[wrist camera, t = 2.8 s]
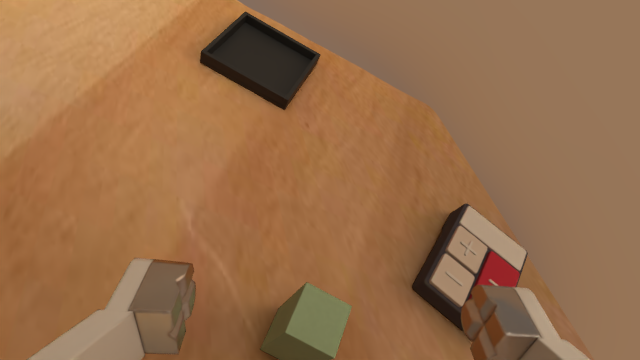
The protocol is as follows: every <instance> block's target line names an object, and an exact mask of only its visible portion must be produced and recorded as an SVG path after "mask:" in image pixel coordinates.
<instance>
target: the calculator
mask: <svg viewBox="0 0 640 360" xmlns="http://www.w3.org/2000/svg"><path fill="white" fill-rule="evenodd" d="M526 257H527V251H526V250H525V249H524V248H522V247H521V246H520V245H519V244H517V243H516V242H515V241H514V240H512V239H511V238H510V237H509V236H507V235H506V234H505V233H504V232H502V231H501V230H500V229H499V228H497V227H496V226H495V225H494V224H492V223H491V222H490V221H489V220H487V219H486V218H485V217H484V216H482V215H481V214H480V213H479V212H477V211H476V210H475V209H474V208H472V207H471V206H470V205H468V204H464V205H462V206H461V207H459V208H458V209H456V210H455V211H453V212H452V213H451V214H450V215H449V217H448V219H447V221H446V223H445V225H444V226H443V228H442V233H441V235H440V236H439V238H438V240H437V242H436V244H435V246H434V247H433V249H432V251H431V253H430V255H429V257H428V258H427V260H426V262H425V264H424V266H423V267H422V269H421V271H420V273H419V275H418V277H417V278H416V280H415V282H414V284H413V289H414V290H415V291H416V292H417V293H418V294H419V295H420V296H422V297H423V298H424V299H425V300H426V301H428V302H429V303H430V304H431V305H432V306H434V307H435V308H436V309H437V310H438V311H440V312H441V313H442V314H443V315H444V316H446V317H447V318H448V319H449V320H450V321H452V322H453V323H454V324H455V325H456V326H458V327H459V328H460V329H461V330H462V331H464V330H463V328H462V324H461V309H462V307H463V305H464V303H465V302H466V301H467V300H469V299H471V298H473V297H472V295H471V291H472V289H473V288H474V286H476V285H494V286H509V287H517V284H518V281H519V278H520V275H521V272H522V269H523V266H524V263H525V260H526Z"/></svg>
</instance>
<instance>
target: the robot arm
mask: <svg viewBox="0 0 640 360" xmlns="http://www.w3.org/2000/svg"><path fill="white" fill-rule="evenodd" d="M193 273H194V268H193V264H192V263H185V262H176V261H166V260H156V259H144V258H134V259H133V260H132V261H131V262H130V264H129V265H128V267H127V269H126V271H125V273H124V275H123V276H122V278H121V280H120V282H119V284H118V285H117V287H116V289H115V291H114V293H113V295H112V296H111V298H110V300H109V302H108V304H107V305H106V307H105V309H104V310H97V311H95V312H94V313H92V314H91V315H90V316H88V317H87V318H85V319H84V320H82V321H81V322H80V323H78V324H77V325H75V326H74V327H72V328H71V329H70V330H68V331H67V332H65V333H64V334H62V335H61V336H60V337H58V338H57V339H55V340H54V341H52V342H51V343H50V344H48V345H47V346H45V347H44V348H42V349H41V350H40V351H38V352H37V353H35V354H34V355H32V356H31V357H30V358H28V359H27V360H141V359H142V358H143V357H144V356H145V354H144V353H147V354H179V350H180V347H181V344H182V341H183V338H184V335H185V332H186V329H185V320H187V319H188V318H189V317H190V316H191V313H192V310H193V306H194V301H195V293H196V285H195V282H194V281H193V280H192V276H193ZM471 295H472V297H473V298H471V299H469V300H467V301H466V302H465V303H464V305H463V307H462V309H461V324H462V328H463V330H464V333H465V335H466V336H467V337H468V338H469V339H471V340H472V344H471V347H470V350H471V352H472V355H473V358H474V360H591V359H589V358H588V357H587V356H586V355H584V354H583V353H582V352H581V351H579V350H578V349H577V348H576V347H574V346H573V345H572V344H571V343H569V342H568V341H567V340H562V339H561V338H560V337H559V335H558V333H557V332H556V330H555V328H554V327H553V325H552V323H551V322H550V320H549V318H548V317H547V315H546V313H545V312H544V310H543V308H542V307H541V305H540V303H539V302H538V300H537V298H536V297H535V295H534V293H533V292H532V291H531V290H530V289H528V288H518V287H509V286H494V285H476V286H474V288H473V289H472V291H471Z"/></svg>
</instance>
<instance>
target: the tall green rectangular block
mask: <svg viewBox="0 0 640 360" xmlns="http://www.w3.org/2000/svg"><path fill="white" fill-rule="evenodd" d="M351 307H352V306H351V305H349V304H347V303H345V302H343V301H341V300H339V299H337V298H336V297H334V296H332V295H330V294H328V293H326V292H324V291H322V290H321V289H319V288H317V287H315V286H313V285H311V284H309V283H307V282H306V283H305V284H304V285H303V286H302V287H301V288H300V289H299V290H298V291H297V292H296V293H295V294H293V295H292V296H291V297H290V298H289V299H288V300H287V301H286V302H285V303H284V304H283V305H282V306H281V307H280V308H279V309H278V311H277V313H276V315H275V318H274V320H273V322H272V324H271V326H270V328H269V331H268V333H267V335H266V337H265V339H264V342H263V344H262V346H261V348H260V350H262V351H264V352H266V353H268V354H270V355H272V356H273V357H275V358H277V359H279V360H331V359H334V358H335V356H336V353H337V350H338V347H339V344H340V341H341V338H342V335H343V332H344V329H345V326H346V323H347V320H348V317H349V313H350V310H351Z"/></svg>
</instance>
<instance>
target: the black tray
mask: <svg viewBox="0 0 640 360" xmlns="http://www.w3.org/2000/svg"><path fill="white" fill-rule="evenodd" d="M319 57H320V54H319V53H317V52H315V51H313V50H311V49H310V48H308V47H306V46H305V45H303V44H301V43H299V42H298V41H296V40H294V39H292V38H291V37H289V36H287V35H285V34H284V33H282V32H280V31H278V30H277V29H275V28H273V27H271V26H270V25H268V24H266V23H264V22H263V21H261V20H259V19H257V18H256V17H254V16H252V15H250V14H248V13H247V12H244V13H243V14H242V15H241V16H240V17H239V18H238V19H237V20H235V21H234V22H233V23H232V24H231V25H230V26H229V27H228V28H227V29H225V30H224V31H223V32H222V33H221V34H220V35H219V36H218V37H217V38H215V39H214V40H213V41H212V42H211V43H210V44H209V45H208V46H207V47H205V48H204V49H203V50H202V51H201V59H200V63H202V64H204V65H206V66H208V67H209V68H211V69H213V70H215V71H216V72H218V73H220V74H222V75H224V76H225V77H227V78H229V79H231V80H233V81H234V82H236V83H238V84H240V85H241V86H243V87H245V88H247V89H249V90H250V91H252V92H254V93H256V94H257V95H259V96H261V97H263V98H265V99H266V100H268V101H270V102H272V103H274V104H275V105H277V106H279V107H281V108H282V109H284V110H285V108H286V107H287V106H288V104H289V103H290V101H291V100H292V98H293V97H294V96H295V94H296V93H297V91H298V90H299V88H300V87H301V86H302V84H303V83H304V81H305V80H306V78H307V77H308V75H309V74H310V73H311V71H312V70H313V68H314V67H315V65H316V64H317V62H318V59H319Z"/></svg>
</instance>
